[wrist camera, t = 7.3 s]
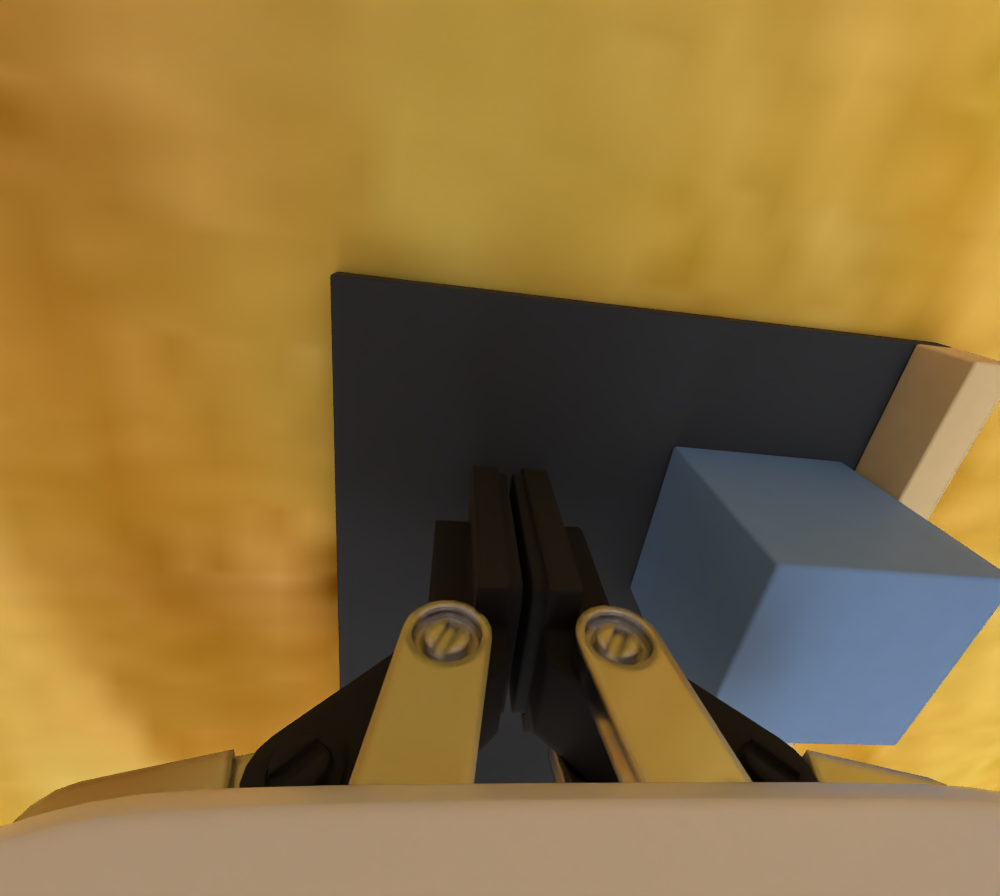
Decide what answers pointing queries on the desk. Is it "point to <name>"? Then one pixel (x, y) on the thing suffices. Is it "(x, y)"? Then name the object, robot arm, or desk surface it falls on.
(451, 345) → the mat
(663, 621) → the block
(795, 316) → the desk surface
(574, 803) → the robot arm
